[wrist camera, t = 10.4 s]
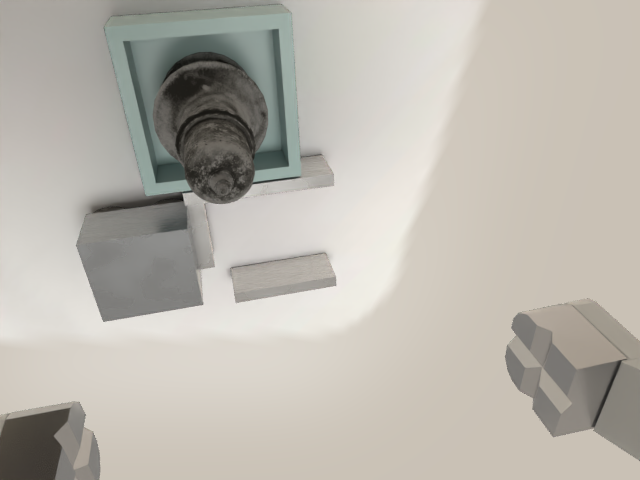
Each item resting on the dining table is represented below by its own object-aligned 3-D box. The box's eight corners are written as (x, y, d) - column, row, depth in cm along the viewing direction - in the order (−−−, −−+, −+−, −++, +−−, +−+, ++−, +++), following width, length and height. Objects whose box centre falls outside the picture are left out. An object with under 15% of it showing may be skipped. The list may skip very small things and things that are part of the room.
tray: (148, 173, 31) (145, 196, 29) (111, 16, 27) (103, 26, 24) (292, 155, 33) (301, 175, 30) (281, 4, 28) (291, 12, 26)
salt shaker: (241, 159, 32) (268, 269, 22) (144, 130, 29) (125, 237, 20) (274, 68, 29) (322, 145, 19) (171, 28, 27) (166, 93, 17)
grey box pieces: (117, 295, 36) (109, 339, 32) (81, 185, 31) (67, 221, 27) (326, 261, 38) (341, 298, 34) (322, 154, 33) (339, 184, 30)
